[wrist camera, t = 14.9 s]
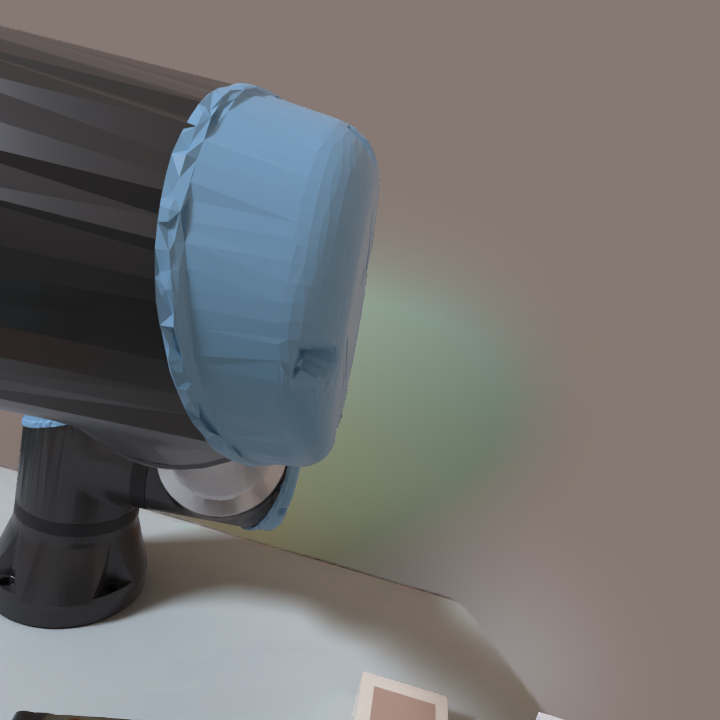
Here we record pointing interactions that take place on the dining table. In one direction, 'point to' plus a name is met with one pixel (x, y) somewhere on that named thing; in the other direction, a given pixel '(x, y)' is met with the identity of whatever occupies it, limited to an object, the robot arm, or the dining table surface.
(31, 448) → the robot arm
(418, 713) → the pink-topped slotted block
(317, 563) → the dining table surface
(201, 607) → the dining table surface
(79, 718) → the beverage carton
